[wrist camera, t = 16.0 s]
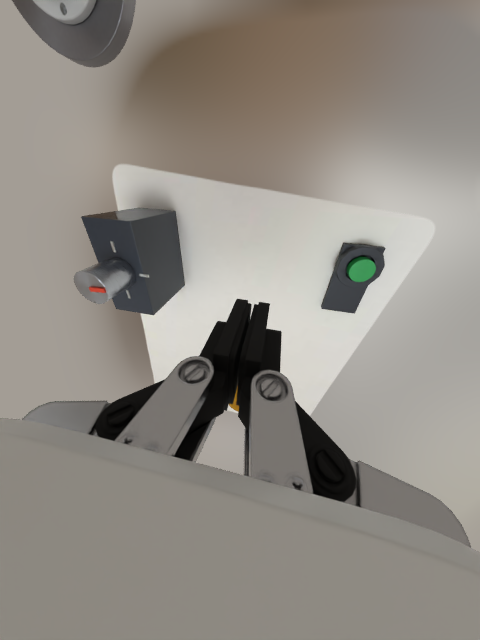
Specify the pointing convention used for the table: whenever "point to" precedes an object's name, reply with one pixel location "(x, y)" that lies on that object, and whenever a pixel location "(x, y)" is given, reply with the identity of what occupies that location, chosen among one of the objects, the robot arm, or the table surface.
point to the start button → (361, 269)
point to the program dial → (105, 280)
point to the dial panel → (140, 254)
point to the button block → (341, 287)
